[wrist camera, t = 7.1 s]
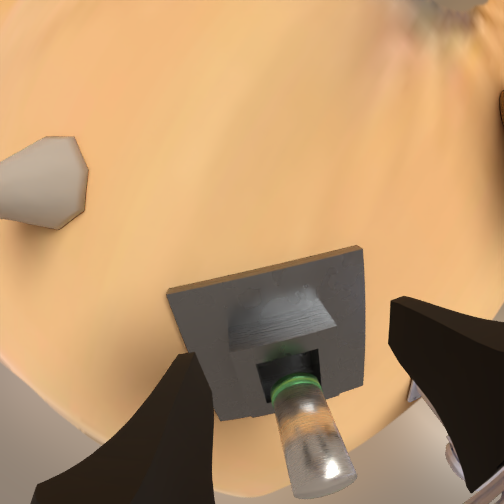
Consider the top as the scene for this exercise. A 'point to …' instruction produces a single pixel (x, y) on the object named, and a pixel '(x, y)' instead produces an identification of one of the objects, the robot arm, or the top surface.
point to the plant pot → (502, 105)
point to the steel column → (310, 438)
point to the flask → (44, 183)
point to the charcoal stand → (276, 328)
